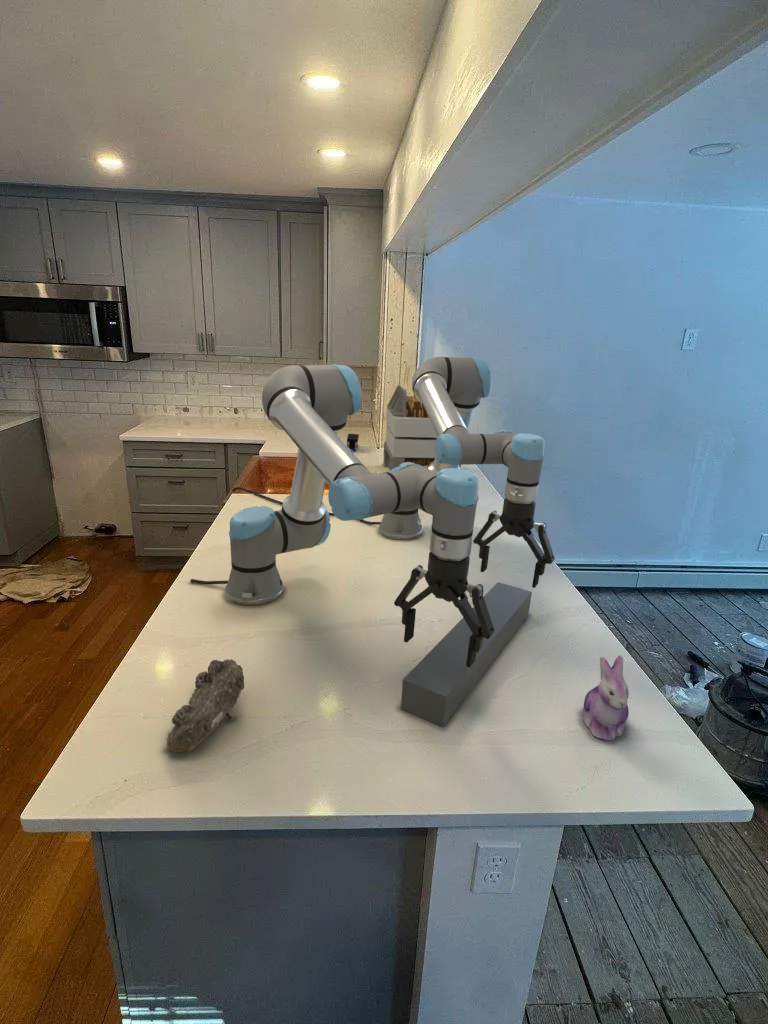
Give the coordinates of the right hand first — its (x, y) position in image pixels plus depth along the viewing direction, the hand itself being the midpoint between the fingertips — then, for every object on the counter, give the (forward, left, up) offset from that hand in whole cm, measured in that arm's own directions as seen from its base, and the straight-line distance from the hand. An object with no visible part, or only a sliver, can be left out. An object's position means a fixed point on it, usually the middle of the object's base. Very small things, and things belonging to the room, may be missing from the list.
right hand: (508, 577), depth 144 cm
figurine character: (-167, +79, -12) cm, 185 cm away
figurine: (+38, -17, -12) cm, 43 cm away
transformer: (-112, +78, -12) cm, 137 cm away
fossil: (-10, -75, -12) cm, 77 cm away
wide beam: (+6, -19, -12) cm, 23 cm away
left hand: (+12, -38, 0) cm, 40 cm away
